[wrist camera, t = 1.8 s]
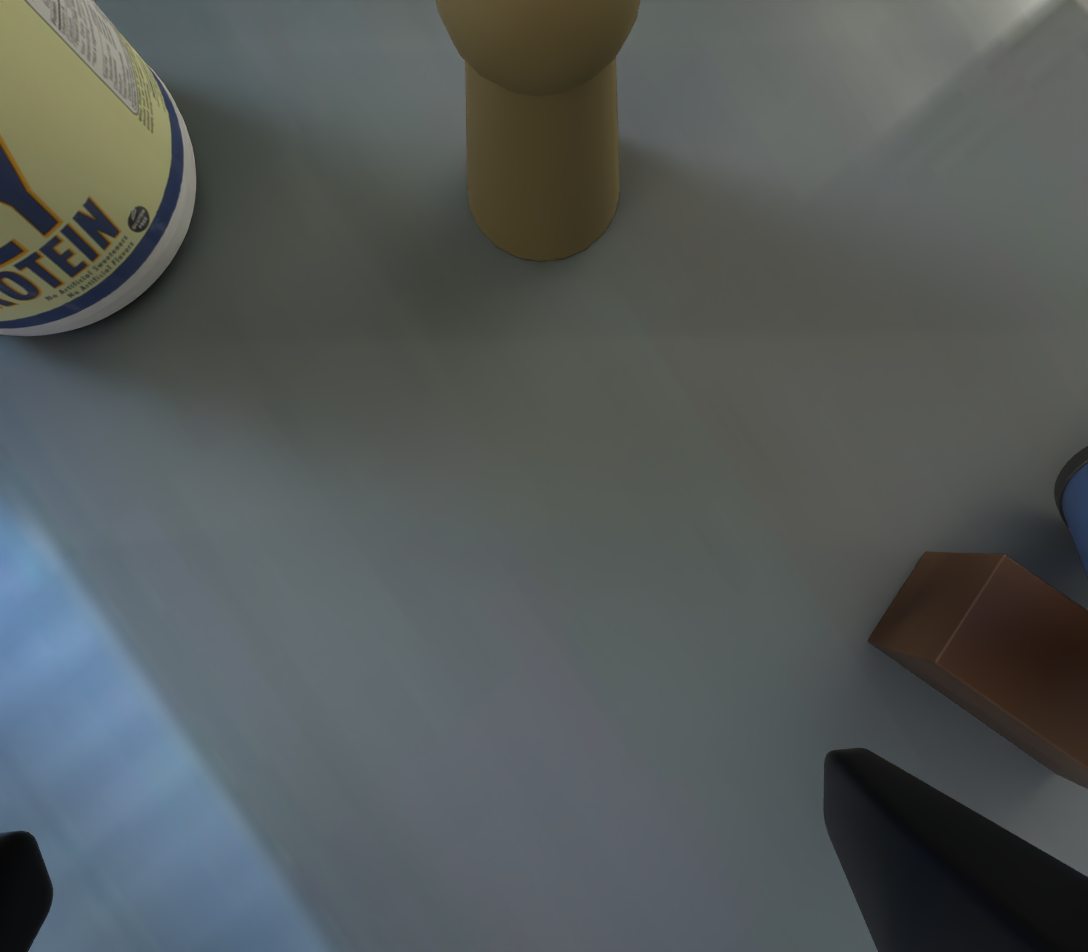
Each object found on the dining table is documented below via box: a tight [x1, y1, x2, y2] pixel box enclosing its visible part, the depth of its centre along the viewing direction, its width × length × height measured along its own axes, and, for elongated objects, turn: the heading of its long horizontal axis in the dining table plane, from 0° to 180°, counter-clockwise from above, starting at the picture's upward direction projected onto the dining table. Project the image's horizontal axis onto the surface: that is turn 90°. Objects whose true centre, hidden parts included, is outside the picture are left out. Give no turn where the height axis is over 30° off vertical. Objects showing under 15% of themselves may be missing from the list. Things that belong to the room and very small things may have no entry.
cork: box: [436, 0, 640, 261], centre depth 19 cm, size 6×6×11 cm
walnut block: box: [868, 552, 1088, 789], centre depth 20 cm, size 4×8×4 cm, turn 54°
